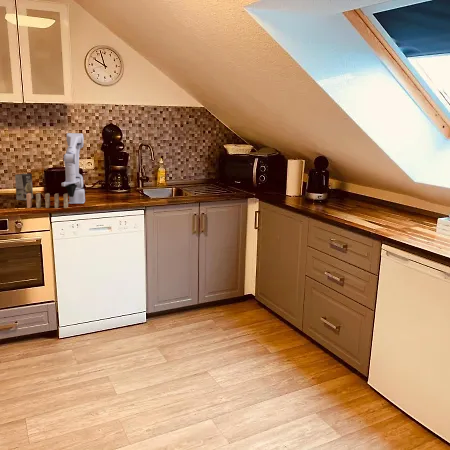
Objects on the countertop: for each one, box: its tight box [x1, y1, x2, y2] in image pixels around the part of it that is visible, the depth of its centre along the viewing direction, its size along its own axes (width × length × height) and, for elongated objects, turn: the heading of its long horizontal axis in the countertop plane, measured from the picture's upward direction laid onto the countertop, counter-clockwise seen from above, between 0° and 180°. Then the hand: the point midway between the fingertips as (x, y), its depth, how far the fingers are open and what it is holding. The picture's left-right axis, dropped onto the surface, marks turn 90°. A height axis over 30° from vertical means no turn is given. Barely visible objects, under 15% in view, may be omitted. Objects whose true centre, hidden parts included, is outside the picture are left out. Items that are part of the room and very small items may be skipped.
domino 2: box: [44, 192, 51, 209], centre depth 283 cm, size 2×5×8 cm, turn 9°
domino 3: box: [53, 192, 60, 209], centre depth 284 cm, size 2×5×8 cm, turn 10°
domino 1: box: [35, 192, 42, 209], centre depth 282 cm, size 2×5×8 cm, turn 9°
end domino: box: [26, 193, 33, 209], centre depth 281 cm, size 2×5×8 cm, turn 10°
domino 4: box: [63, 192, 69, 209], centre depth 284 cm, size 2×5×8 cm, turn 10°
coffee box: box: [14, 173, 34, 201], centre depth 304 cm, size 9×6×16 cm
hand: (71, 196), depth 284 cm, fingers closed
